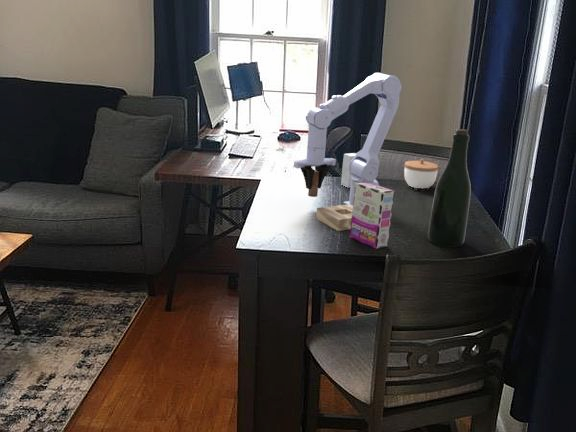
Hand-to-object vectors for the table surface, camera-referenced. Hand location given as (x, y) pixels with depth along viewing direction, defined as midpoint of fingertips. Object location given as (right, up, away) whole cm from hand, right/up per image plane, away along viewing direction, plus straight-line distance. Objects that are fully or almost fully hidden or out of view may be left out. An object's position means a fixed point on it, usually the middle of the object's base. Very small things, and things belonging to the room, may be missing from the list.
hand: (313, 188), depth 205 cm
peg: (0, -2, +1) cm, 2 cm away
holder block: (+9, -11, -9) cm, 17 cm away
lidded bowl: (+42, +2, +38) cm, 56 cm away
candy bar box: (+15, -17, -24) cm, 33 cm away
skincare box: (+15, +2, +33) cm, 37 cm away
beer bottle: (+38, -17, -20) cm, 46 cm away
